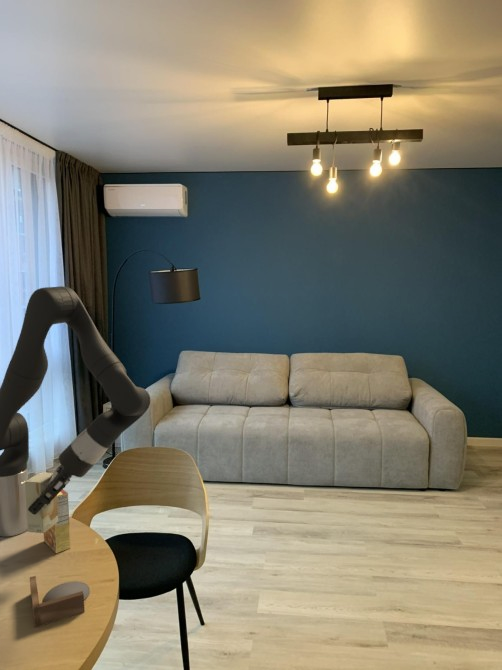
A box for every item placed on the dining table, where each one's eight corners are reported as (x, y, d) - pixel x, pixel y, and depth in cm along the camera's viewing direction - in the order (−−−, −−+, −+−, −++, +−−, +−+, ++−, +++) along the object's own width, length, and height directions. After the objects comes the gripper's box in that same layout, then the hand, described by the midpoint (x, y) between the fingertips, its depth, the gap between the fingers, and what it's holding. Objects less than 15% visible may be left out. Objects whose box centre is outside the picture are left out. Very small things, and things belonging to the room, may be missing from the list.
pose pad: (48, 585, 112) (48, 584, 112) (92, 579, 114) (92, 578, 114) (39, 613, 103) (39, 611, 103) (86, 606, 105) (86, 604, 105)
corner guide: (30, 594, 109) (29, 577, 109) (76, 581, 114) (75, 565, 113) (34, 627, 98) (33, 608, 98) (84, 611, 103) (83, 594, 102)
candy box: (43, 541, 132) (39, 487, 130) (58, 535, 135) (55, 482, 133) (55, 554, 125) (52, 497, 124) (72, 547, 128) (68, 492, 127)
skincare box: (43, 534, 112) (40, 483, 110) (26, 532, 112) (23, 482, 111) (59, 520, 118) (56, 472, 117) (43, 519, 119) (40, 471, 117)
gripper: (76, 433, 121) (29, 482, 120) (66, 452, 108) (13, 508, 106) (99, 451, 123) (53, 500, 122) (93, 473, 109) (41, 528, 108)
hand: (35, 504), depth 114 cm, fingers closed on skincare box, 7 cm apart
